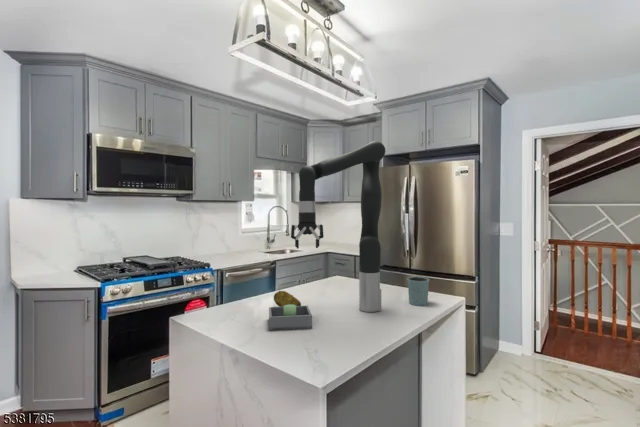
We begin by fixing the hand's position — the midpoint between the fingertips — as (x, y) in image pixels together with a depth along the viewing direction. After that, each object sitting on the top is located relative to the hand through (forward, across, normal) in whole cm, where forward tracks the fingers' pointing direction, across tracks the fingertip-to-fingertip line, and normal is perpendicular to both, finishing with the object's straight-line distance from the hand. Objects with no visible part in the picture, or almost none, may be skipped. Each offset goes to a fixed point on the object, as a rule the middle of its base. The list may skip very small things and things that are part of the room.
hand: (307, 248), depth 159 cm
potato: (+28, +9, -4) cm, 30 cm away
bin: (+28, +9, +16) cm, 33 cm away
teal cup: (+28, -54, -4) cm, 61 cm away
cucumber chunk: (+27, +9, +16) cm, 33 cm away
